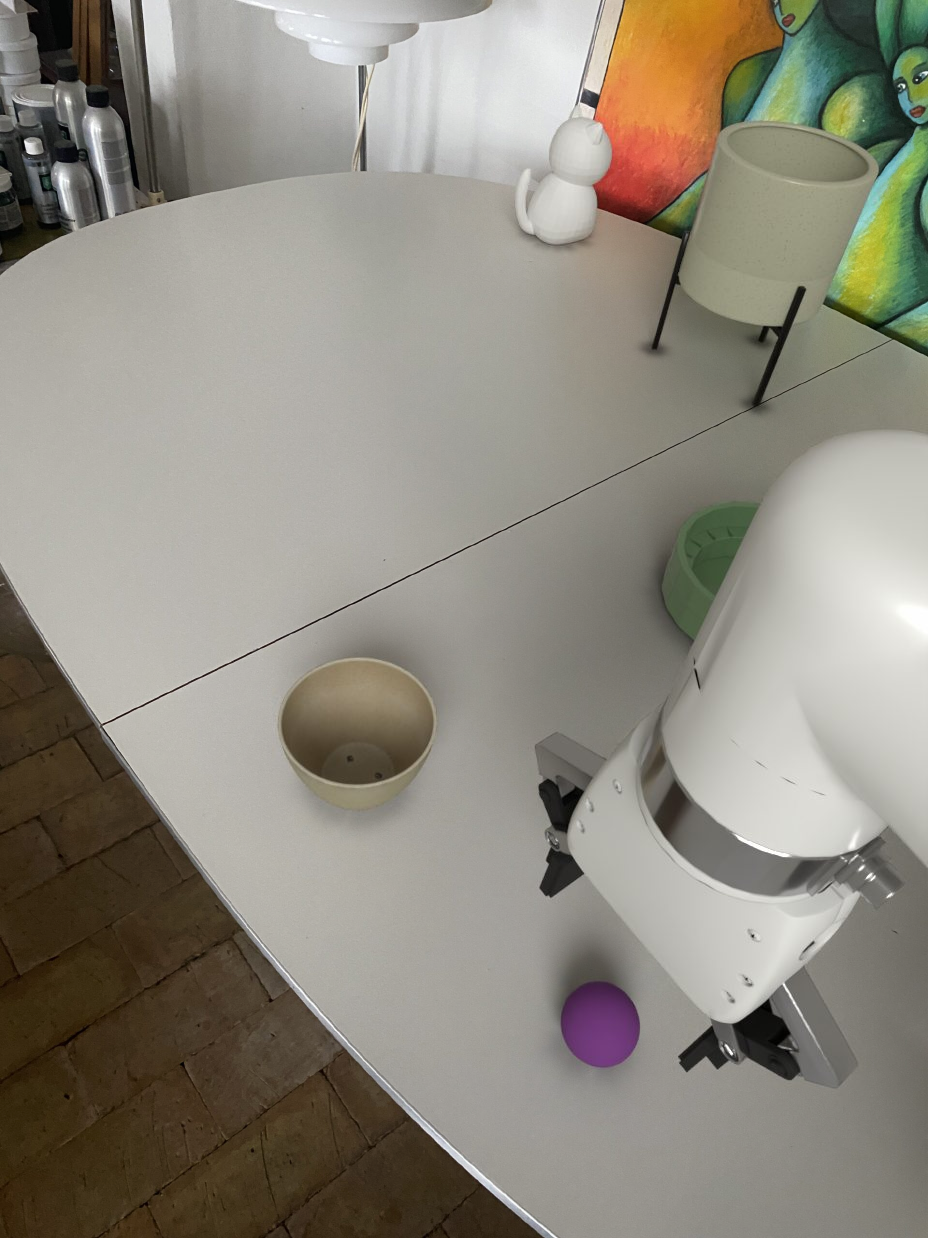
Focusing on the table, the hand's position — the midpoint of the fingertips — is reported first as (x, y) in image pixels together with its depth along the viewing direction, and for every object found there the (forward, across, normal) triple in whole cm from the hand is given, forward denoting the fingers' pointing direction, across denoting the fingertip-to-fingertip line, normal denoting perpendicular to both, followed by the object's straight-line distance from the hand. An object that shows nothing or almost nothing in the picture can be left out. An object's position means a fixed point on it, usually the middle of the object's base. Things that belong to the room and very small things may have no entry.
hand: (631, 957), depth 42 cm
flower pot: (+12, +21, +2) cm, 25 cm away
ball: (+12, -1, 0) cm, 12 cm away
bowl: (+12, +17, -34) cm, 40 cm away
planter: (+12, +44, -61) cm, 77 cm away
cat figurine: (+13, +77, -64) cm, 101 cm away
